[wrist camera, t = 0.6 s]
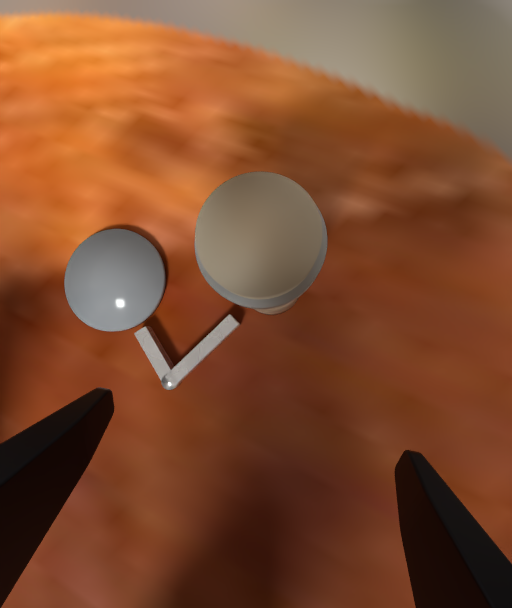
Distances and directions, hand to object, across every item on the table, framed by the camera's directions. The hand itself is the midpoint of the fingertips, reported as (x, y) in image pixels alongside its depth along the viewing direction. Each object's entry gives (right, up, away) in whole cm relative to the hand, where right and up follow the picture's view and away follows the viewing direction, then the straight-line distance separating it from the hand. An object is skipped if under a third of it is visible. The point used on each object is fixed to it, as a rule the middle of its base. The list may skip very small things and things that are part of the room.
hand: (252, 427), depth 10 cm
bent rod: (-5, +1, +14) cm, 15 cm away
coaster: (-11, +6, +15) cm, 20 cm away
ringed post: (+1, +5, +14) cm, 15 cm away
